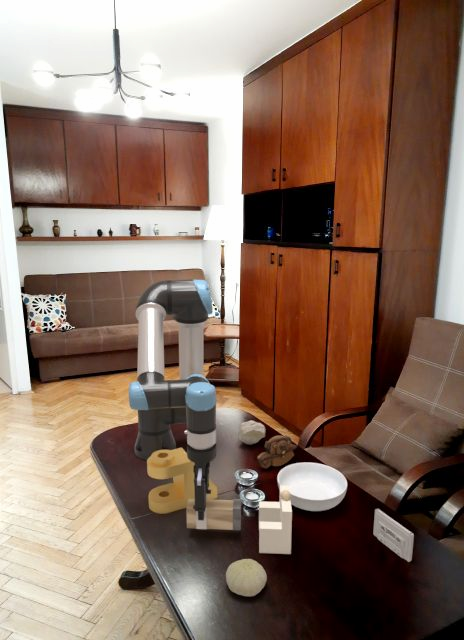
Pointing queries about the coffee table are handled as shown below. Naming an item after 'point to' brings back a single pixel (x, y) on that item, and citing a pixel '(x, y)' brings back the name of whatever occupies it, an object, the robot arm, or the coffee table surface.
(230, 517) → the rail
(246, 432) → the white rock
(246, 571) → the sea urchin shell
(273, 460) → the wooden carving
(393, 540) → the cassette
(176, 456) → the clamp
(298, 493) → the serving bowl
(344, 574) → the coffee table surface
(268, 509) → the white notched block
